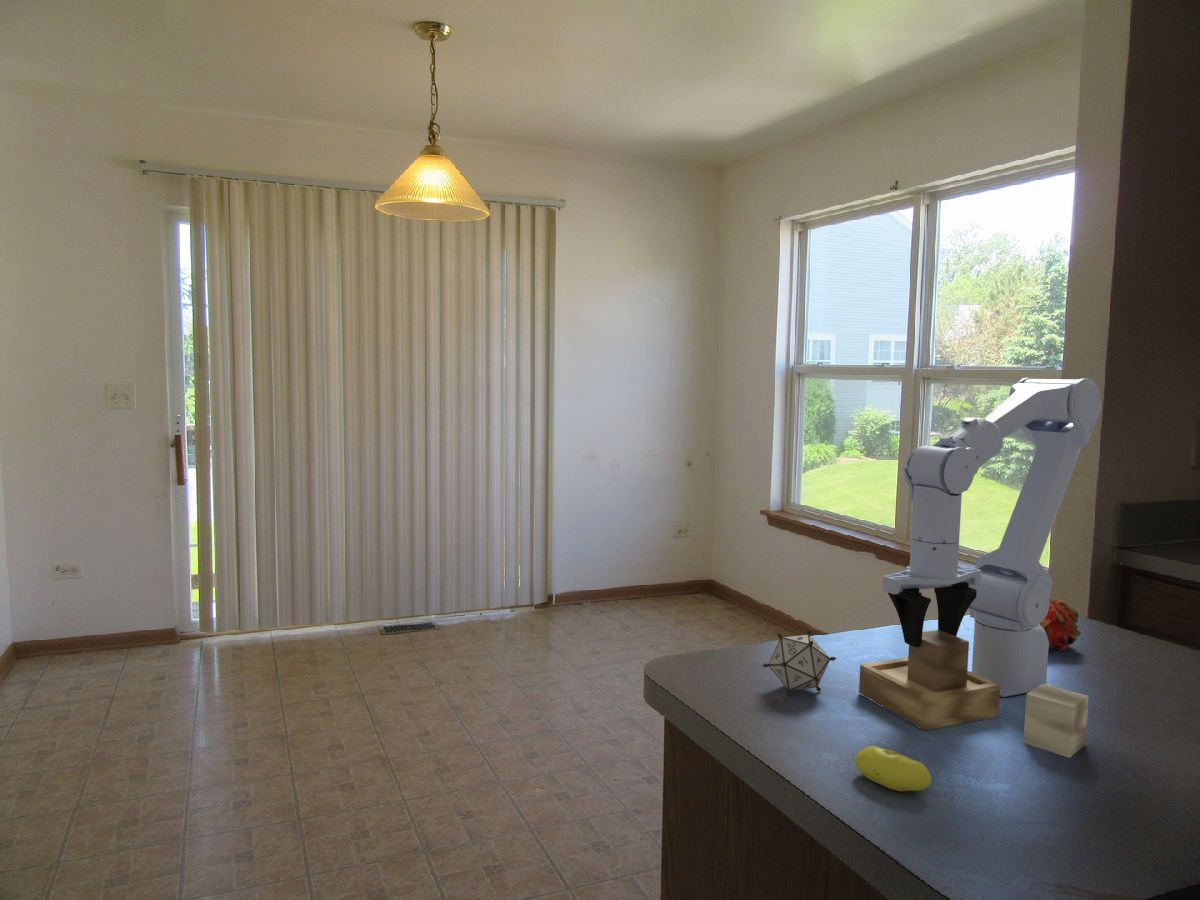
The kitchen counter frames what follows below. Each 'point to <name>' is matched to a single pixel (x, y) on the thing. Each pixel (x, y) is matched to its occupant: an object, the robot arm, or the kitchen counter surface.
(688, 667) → the kitchen counter surface
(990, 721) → the kitchen counter surface
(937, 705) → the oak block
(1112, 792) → the kitchen counter surface
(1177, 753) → the kitchen counter surface
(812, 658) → the game die
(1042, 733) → the maple cube
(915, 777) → the yellow oval lump
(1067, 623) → the dragon fruit
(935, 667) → the walnut cube
